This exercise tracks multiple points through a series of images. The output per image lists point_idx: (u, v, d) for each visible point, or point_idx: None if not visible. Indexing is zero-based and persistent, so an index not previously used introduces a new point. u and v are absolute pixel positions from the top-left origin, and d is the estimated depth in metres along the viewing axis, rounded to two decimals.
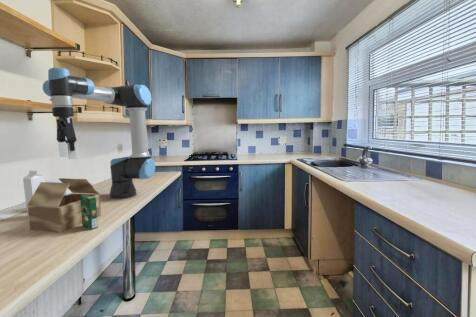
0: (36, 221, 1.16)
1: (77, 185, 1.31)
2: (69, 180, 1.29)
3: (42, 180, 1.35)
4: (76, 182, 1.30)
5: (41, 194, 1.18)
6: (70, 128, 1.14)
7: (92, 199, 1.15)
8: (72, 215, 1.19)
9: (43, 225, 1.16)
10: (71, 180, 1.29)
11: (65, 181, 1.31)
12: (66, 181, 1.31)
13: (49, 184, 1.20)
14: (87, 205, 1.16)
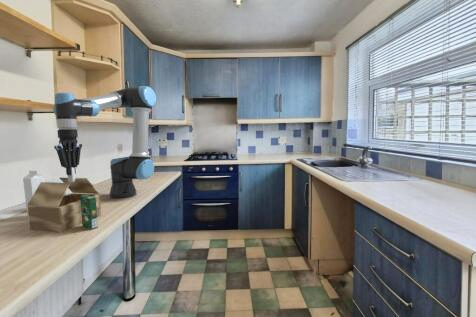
0: (36, 221, 1.16)
1: (77, 185, 1.32)
2: None
3: (42, 180, 1.35)
4: (76, 181, 1.30)
5: (41, 194, 1.18)
6: (60, 155, 1.22)
7: (92, 199, 1.15)
8: (72, 215, 1.19)
9: (43, 225, 1.16)
10: None
11: (66, 180, 1.31)
12: (67, 180, 1.31)
13: (49, 184, 1.20)
14: (87, 205, 1.16)
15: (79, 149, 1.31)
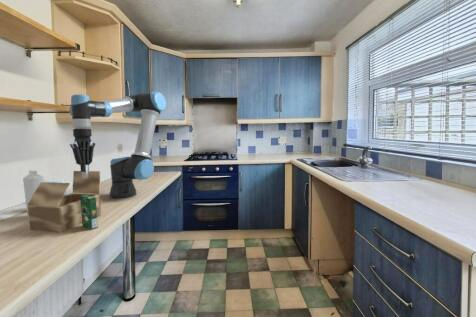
0: (36, 221, 1.16)
1: (85, 180, 1.36)
2: None
3: (42, 180, 1.35)
4: None
5: (41, 194, 1.18)
6: (75, 153, 1.30)
7: (92, 199, 1.15)
8: (72, 215, 1.19)
9: (43, 225, 1.16)
10: None
11: (77, 174, 1.37)
12: (78, 174, 1.37)
13: (49, 184, 1.20)
14: (87, 205, 1.16)
15: (92, 148, 1.39)
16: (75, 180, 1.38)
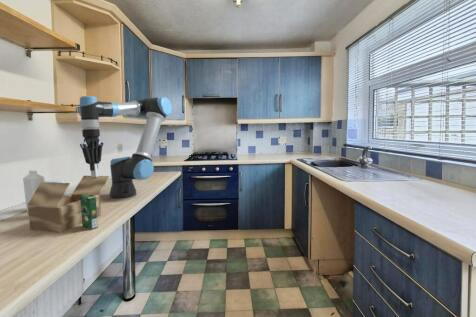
0: (36, 221, 1.16)
1: (91, 183, 1.40)
2: (91, 177, 1.42)
3: (42, 180, 1.35)
4: (95, 179, 1.41)
5: (41, 194, 1.18)
6: (85, 153, 1.35)
7: (92, 199, 1.15)
8: (72, 215, 1.19)
9: (43, 225, 1.16)
10: (93, 177, 1.42)
11: (86, 178, 1.43)
12: (87, 178, 1.42)
13: (49, 184, 1.20)
14: (87, 205, 1.16)
15: (101, 147, 1.44)
16: (81, 183, 1.41)
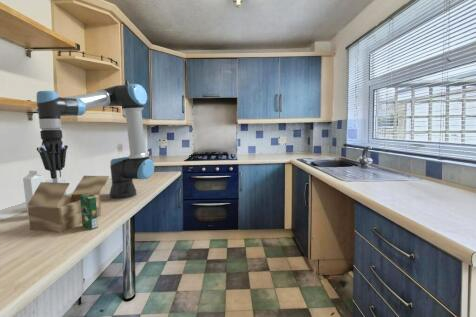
0: (36, 221, 1.16)
1: (91, 183, 1.40)
2: (91, 177, 1.42)
3: (42, 180, 1.35)
4: (95, 179, 1.41)
5: (41, 194, 1.18)
6: (43, 158, 1.15)
7: (92, 199, 1.15)
8: (72, 215, 1.19)
9: (43, 225, 1.16)
10: (93, 177, 1.42)
11: (86, 178, 1.43)
12: (87, 178, 1.42)
13: (49, 184, 1.20)
14: (87, 205, 1.16)
15: (64, 151, 1.23)
16: (81, 183, 1.41)
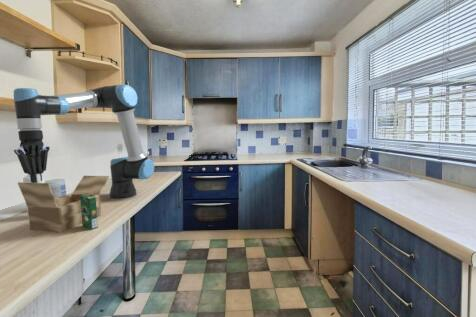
0: (36, 221, 1.16)
1: (91, 183, 1.40)
2: (91, 177, 1.42)
3: (42, 180, 1.35)
4: (95, 179, 1.41)
5: (30, 195, 1.13)
6: (22, 161, 1.06)
7: (92, 199, 1.15)
8: (72, 215, 1.19)
9: (43, 225, 1.16)
10: (93, 177, 1.42)
11: (86, 178, 1.43)
12: (87, 178, 1.42)
13: (29, 185, 1.11)
14: (87, 205, 1.16)
15: (46, 152, 1.15)
16: (81, 183, 1.41)
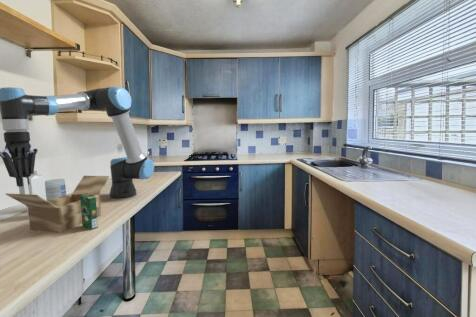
0: (36, 221, 1.16)
1: (91, 183, 1.40)
2: (91, 177, 1.42)
3: (42, 180, 1.35)
4: (95, 179, 1.41)
5: (25, 201, 1.11)
6: (7, 164, 1.01)
7: (92, 199, 1.15)
8: (72, 215, 1.19)
9: (43, 225, 1.16)
10: (93, 177, 1.42)
11: (86, 178, 1.43)
12: (87, 178, 1.42)
13: (18, 196, 1.07)
14: (87, 205, 1.16)
15: (33, 155, 1.10)
16: (81, 183, 1.41)
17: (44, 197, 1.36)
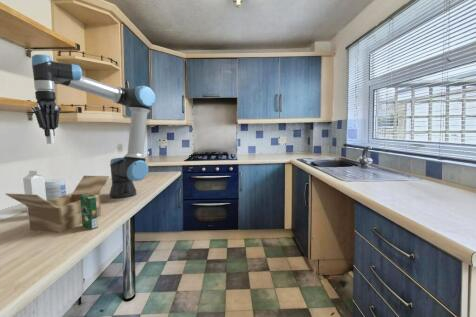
0: (36, 221, 1.16)
1: (91, 183, 1.40)
2: (91, 177, 1.42)
3: (42, 180, 1.35)
4: (95, 179, 1.41)
5: (25, 201, 1.11)
6: (38, 116, 1.25)
7: (92, 199, 1.15)
8: (72, 215, 1.19)
9: (43, 225, 1.16)
10: (93, 177, 1.42)
11: (86, 178, 1.43)
12: (87, 178, 1.42)
13: (18, 196, 1.07)
14: (87, 205, 1.16)
15: (58, 112, 1.34)
16: (81, 183, 1.41)
17: (44, 197, 1.36)
